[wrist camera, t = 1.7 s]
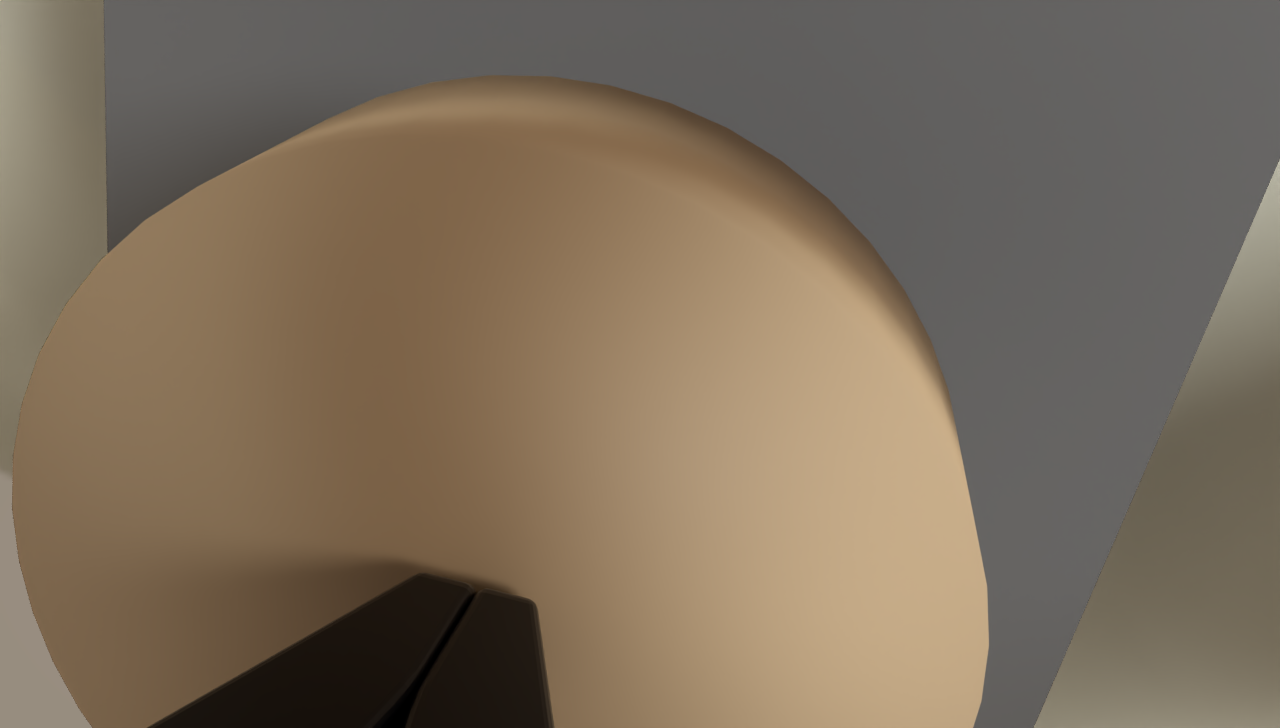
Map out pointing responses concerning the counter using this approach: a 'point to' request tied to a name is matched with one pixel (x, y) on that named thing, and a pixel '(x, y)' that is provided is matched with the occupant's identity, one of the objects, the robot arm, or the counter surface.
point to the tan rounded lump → (509, 422)
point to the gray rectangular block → (854, 195)
